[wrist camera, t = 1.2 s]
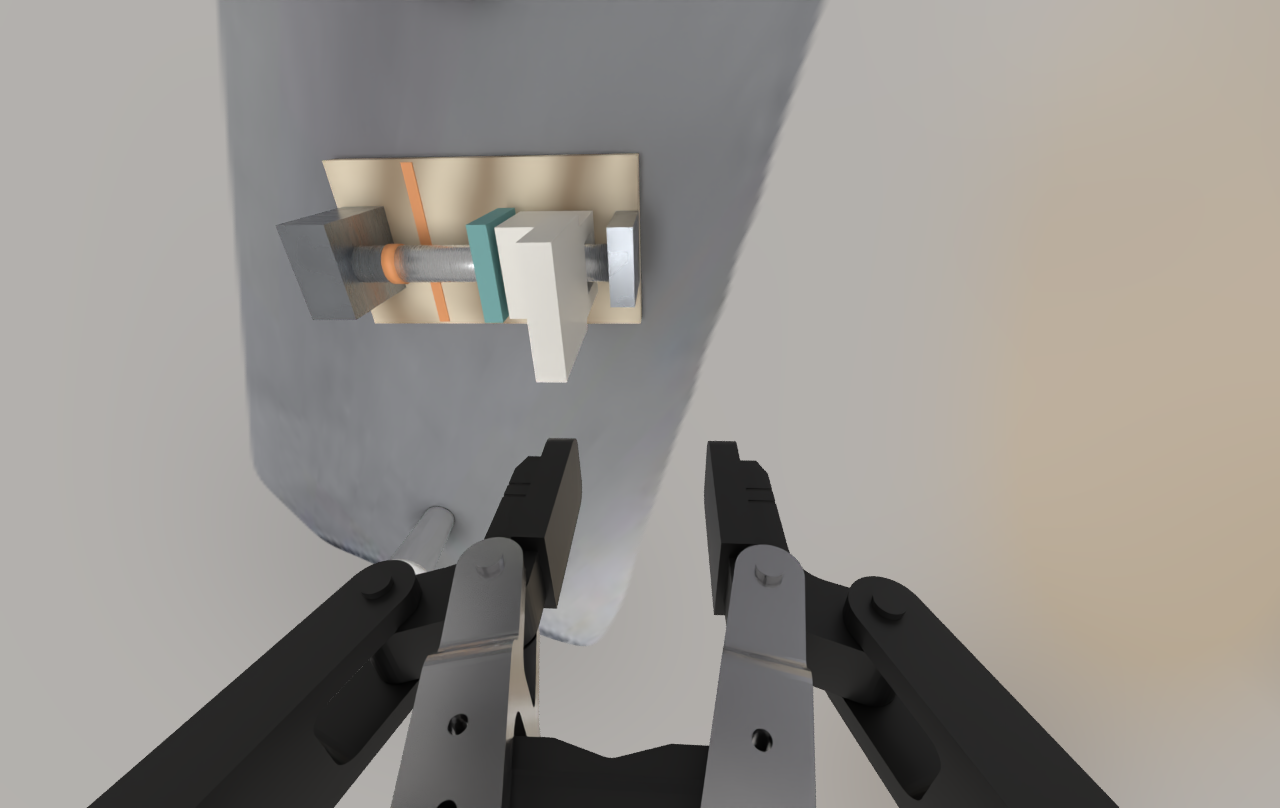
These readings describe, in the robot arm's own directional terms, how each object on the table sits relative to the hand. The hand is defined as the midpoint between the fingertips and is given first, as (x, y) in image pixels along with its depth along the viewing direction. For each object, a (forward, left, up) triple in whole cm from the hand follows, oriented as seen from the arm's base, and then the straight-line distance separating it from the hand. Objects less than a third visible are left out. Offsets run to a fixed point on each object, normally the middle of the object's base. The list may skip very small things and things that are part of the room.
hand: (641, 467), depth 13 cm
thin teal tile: (0, -10, -24) cm, 26 cm away
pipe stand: (0, -13, -27) cm, 30 cm away
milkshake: (+29, -25, -27) cm, 47 cm away
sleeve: (0, -7, -24) cm, 25 cm away
